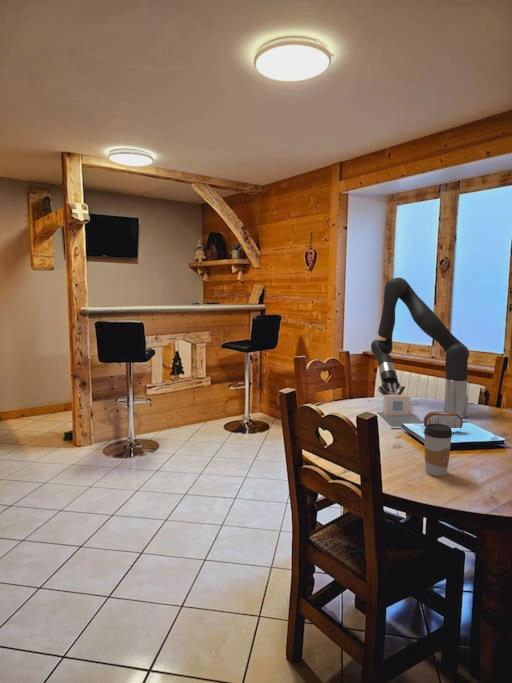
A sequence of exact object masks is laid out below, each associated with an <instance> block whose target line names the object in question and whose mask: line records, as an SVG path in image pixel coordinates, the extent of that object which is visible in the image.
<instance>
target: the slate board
mask: <svg viewBox="0 0 512 683" xmlns="http://www.w3.org/2000/svg"><path fill="white" fill-rule="evenodd" d="M376 413H377V414H378V415H379V416H380V418H382V419H383V421H385V423H387V425H389V426H390V430H403V429H402V428H404V427H403V426H402V424H403V423H424V420H422V419H420V418H419V417H417V416H416V415H415V414H414V413H412V412H411V411H409V415H400V416H385V415H384V414H383V412H382V411H381V412H380V411H376Z"/></svg>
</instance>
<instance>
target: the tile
mask: <svg viewBox="0 0 512 683" xmlns="http://www.w3.org/2000/svg"><path fill="white" fill-rule="evenodd" d="M410 407H411V396H410V395H409V394H401V395H383V414H384V415H385V416H400V415H409V412H411V411H410V410H411V409H410Z"/></svg>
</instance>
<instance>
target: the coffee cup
mask: <svg viewBox="0 0 512 683" xmlns="http://www.w3.org/2000/svg"><path fill="white" fill-rule="evenodd" d="M424 428H425V429H423V430H424V431H423V434H424V463H425V464H424V465H425V466H424V467H425V468H424V470H425V472H426V474H428V475H430V476H431V477H432V476H433V477H445V476H446V475H447V473H448V468H449V462H450V454H451V443H452V437H453V433H452V431H451V428H450V427H449V426H446V425H442V424H427V425H426V427H424Z"/></svg>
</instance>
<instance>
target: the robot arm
mask: <svg viewBox="0 0 512 683" xmlns="http://www.w3.org/2000/svg"><path fill="white" fill-rule="evenodd" d="M399 299H400V300H401V302H402V303H404V305H405V306H406V307H407V309H408V311H409V313H410V315H411V318H412V320H413V322H415V324H416V325H417V326H418V327H419V328H420V330H421V331H422V332H424V334H426V335H427V336H429V337H430V338H431V339H433V340H434V341H435V342H436V343H437V344H439V345H440V347H441V348H442V349H443V351H444V352H445V364H444V365H445V366H444V367H445V368H444V372H445V373H444V374H445V385H444V386H445V387H444V388H445V389H444V403H443V404H444V406H443V407H444V408H443V412H454V413H456V414H458V415H459V416H460V417H461V419H463V418H468V417H469V416H468V415H469V414H468V413H469V396H467V395H468V378H469V377H468V376H469V375H468V374H469V373H468V364H469V362H468V361H469V358H470V356H471V354H470V350H469V348H468V347H467V346H466V345H464V344H463V343H462V342H461V341H460V340H459V339H458V338H457V337H456V336H455V335H453V333H452V332H451V331H450V330H449V329H448V328H447V326H446V325H445V324H444V323H443V321H442V320H441V319H440V318H439V317H438V315H437V314H436V313H435V312H434V311H433V310H432V309H431V308H430V307H429V305H427V304H426V303H425V302H424V301H423V300H422V298H420V296H419V295H418V294H417V293H416V292H415V290H414V289H413V288H412V286H411V285H410V284H409V283H408V281H407V280H406V279H404V278H403V277H394V278H391V279H389V280H388V281H386V283H385V284H384V290H383V305H382V314H381V317H380V322H379V326H378V331H377V334H378V336H379V337H381V338H384V339H385V340H380V339H375V340H373V341H372V342H371V344H370V350H371V352H372V355H373V356H374V358H375V359H376V361H377V363H378V364H377V365H378V370H379V372H378V373H379V376H380V380H381V386H378V389H377V390H378V392H379V393H380V394H382V395H383V396H384V395H403V392H404V390H405V389H406V386H405V385H404V386H402V385H401V384H400V382H399V379H398V375H397V372H396V368H395V366H394V362H393V358H392V356H391V353H392V352H393V349H394V347H393V332H394V328H395V324H396V307H397V304H398V300H399ZM398 389H399V391H398ZM397 391H398V393H397Z"/></svg>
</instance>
